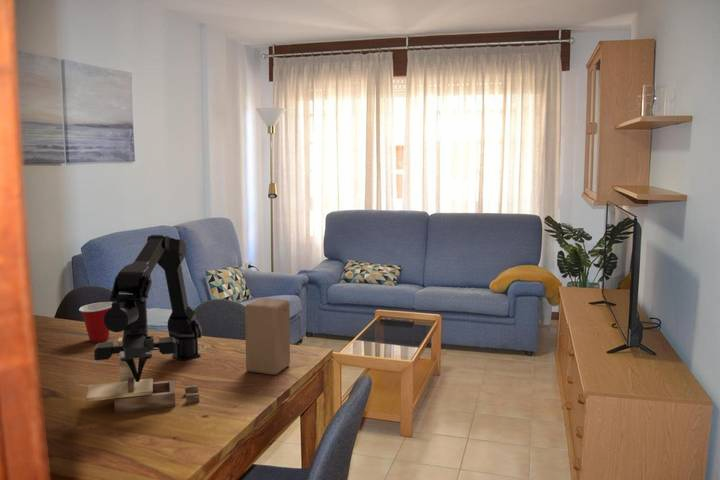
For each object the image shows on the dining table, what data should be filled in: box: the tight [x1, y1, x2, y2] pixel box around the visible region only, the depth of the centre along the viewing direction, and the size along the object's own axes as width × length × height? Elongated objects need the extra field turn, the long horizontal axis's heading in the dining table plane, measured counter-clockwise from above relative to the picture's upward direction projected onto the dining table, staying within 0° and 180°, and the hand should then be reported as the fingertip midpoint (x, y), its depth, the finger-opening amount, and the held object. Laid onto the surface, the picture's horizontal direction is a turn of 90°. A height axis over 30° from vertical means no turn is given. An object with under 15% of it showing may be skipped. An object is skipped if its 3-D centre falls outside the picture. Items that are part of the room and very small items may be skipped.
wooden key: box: [117, 336, 135, 382], centre depth 163 cm, size 4×4×13 cm
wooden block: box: [244, 297, 291, 376], centre depth 178 cm, size 10×10×20 cm
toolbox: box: [113, 380, 200, 414], centre depth 154 cm, size 20×9×4 cm, turn 108°
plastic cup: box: [78, 301, 113, 343], centre depth 204 cm, size 11×11×12 cm
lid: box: [85, 372, 154, 402], centre depth 151 cm, size 15×9×3 cm, turn 108°
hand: (137, 381), depth 152 cm, fingers closed
